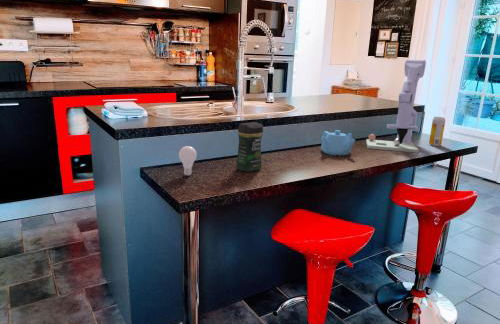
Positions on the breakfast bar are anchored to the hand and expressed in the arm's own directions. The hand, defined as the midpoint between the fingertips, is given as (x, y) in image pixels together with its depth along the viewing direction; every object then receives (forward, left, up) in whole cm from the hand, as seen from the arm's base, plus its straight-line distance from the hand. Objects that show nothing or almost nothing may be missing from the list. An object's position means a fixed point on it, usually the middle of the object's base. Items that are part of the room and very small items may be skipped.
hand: (400, 143), depth 196 cm
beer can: (-18, +20, -3) cm, 27 cm away
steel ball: (-1, -1, 0) cm, 1 cm away
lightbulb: (+79, -82, -3) cm, 114 cm away
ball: (-8, -13, 0) cm, 16 cm away
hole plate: (-3, -4, -3) cm, 6 cm away
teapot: (+21, -31, -3) cm, 37 cm away
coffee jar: (+63, -63, -3) cm, 89 cm away
